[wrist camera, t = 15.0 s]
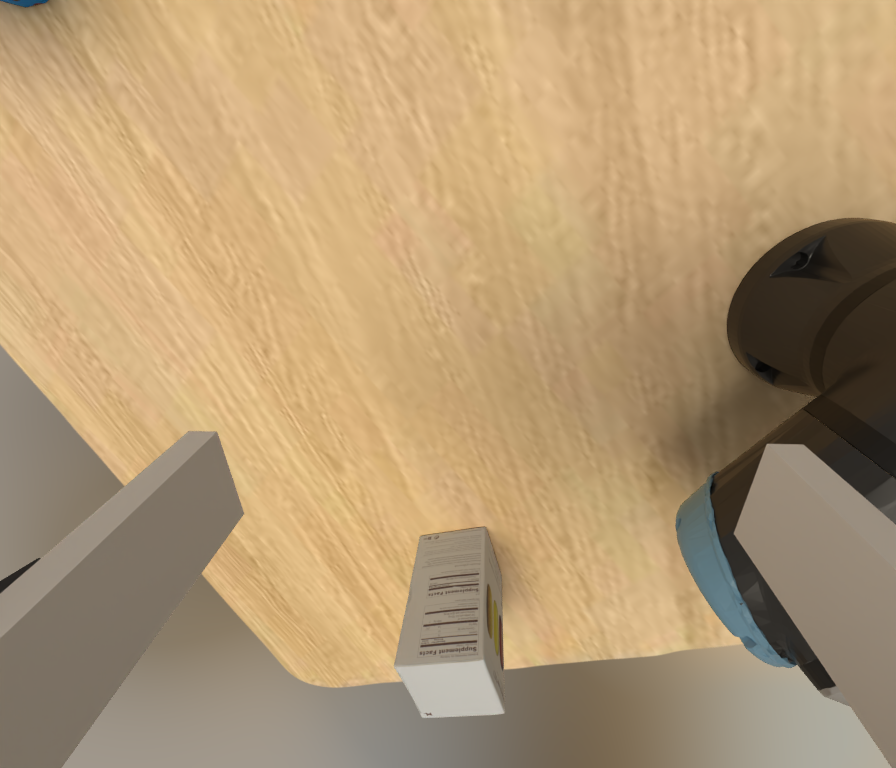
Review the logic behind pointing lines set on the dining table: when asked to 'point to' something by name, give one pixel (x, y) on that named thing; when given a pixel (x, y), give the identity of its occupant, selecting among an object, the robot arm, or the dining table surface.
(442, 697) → the supplement box
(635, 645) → the dining table surface
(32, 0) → the thermos
